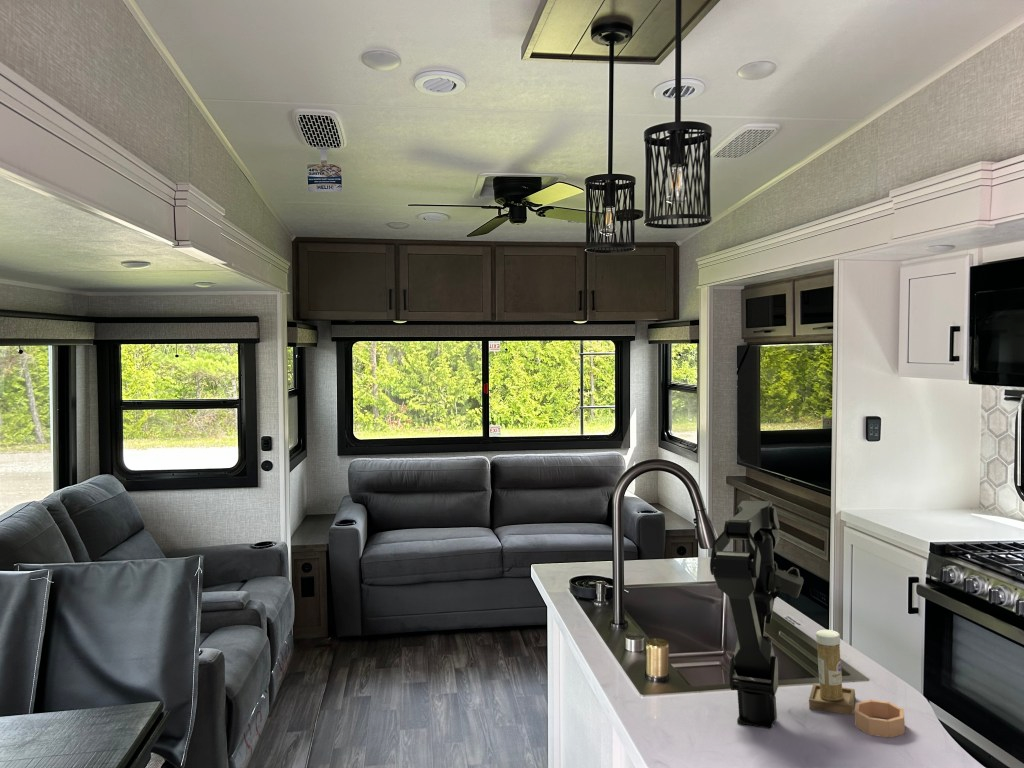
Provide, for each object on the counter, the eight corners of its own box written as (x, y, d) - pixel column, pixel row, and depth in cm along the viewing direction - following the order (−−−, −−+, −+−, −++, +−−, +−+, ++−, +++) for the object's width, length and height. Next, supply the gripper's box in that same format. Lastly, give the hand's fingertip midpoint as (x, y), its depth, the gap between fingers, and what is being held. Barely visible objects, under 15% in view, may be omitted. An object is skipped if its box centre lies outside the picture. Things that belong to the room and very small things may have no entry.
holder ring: (854, 732, 141) (853, 716, 141) (857, 712, 149) (856, 697, 149) (904, 739, 137) (903, 723, 137) (904, 719, 145) (903, 704, 145)
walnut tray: (809, 708, 152) (808, 699, 152) (813, 692, 159) (813, 683, 159) (852, 714, 148) (852, 705, 148) (855, 697, 155) (854, 689, 155)
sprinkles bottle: (842, 704, 150) (838, 637, 150) (817, 700, 153) (814, 635, 152) (844, 694, 154) (841, 630, 154) (821, 691, 157) (817, 627, 156)
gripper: (793, 573, 149) (798, 650, 149) (804, 550, 165) (809, 619, 166) (736, 569, 154) (741, 644, 154) (752, 547, 170) (757, 615, 171)
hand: (764, 630), depth 161 cm, fingers open, 9 cm apart
